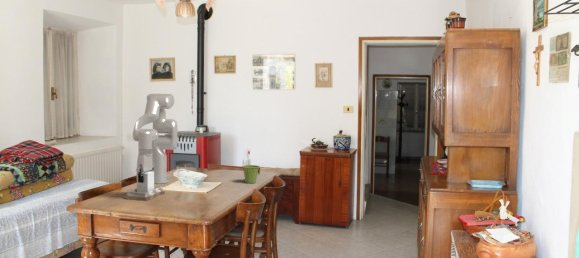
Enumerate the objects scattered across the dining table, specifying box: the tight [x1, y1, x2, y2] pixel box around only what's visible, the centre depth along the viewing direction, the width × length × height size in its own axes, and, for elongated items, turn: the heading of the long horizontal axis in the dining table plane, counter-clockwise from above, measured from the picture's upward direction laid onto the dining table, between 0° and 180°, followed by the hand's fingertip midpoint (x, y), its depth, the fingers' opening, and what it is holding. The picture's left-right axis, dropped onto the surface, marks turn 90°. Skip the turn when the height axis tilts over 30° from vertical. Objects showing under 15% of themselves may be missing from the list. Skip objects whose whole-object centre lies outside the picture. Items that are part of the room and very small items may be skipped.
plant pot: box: [242, 164, 261, 184], centre depth 320 cm, size 12×12×11 cm
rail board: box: [124, 186, 166, 202], centre depth 274 cm, size 20×14×4 cm
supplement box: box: [136, 171, 155, 193], centre depth 274 cm, size 7×7×13 cm
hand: (145, 180), depth 274 cm, fingers open, 9 cm apart
